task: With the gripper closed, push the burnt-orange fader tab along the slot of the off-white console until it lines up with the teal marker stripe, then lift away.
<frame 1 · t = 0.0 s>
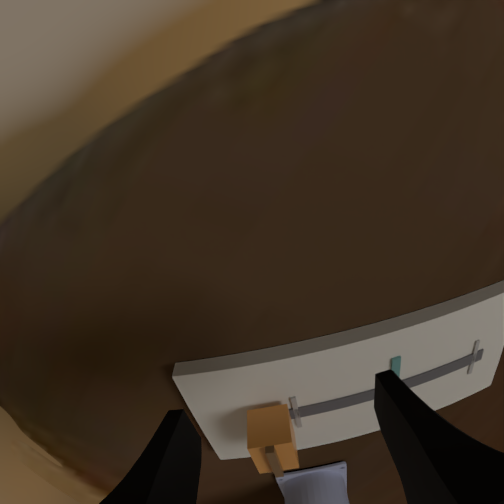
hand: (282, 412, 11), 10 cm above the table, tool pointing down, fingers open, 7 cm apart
fader tab: (273, 443, 20), point 4 cm above the table, slide at 0.0 cm
fader console: (365, 381, 24), on the table
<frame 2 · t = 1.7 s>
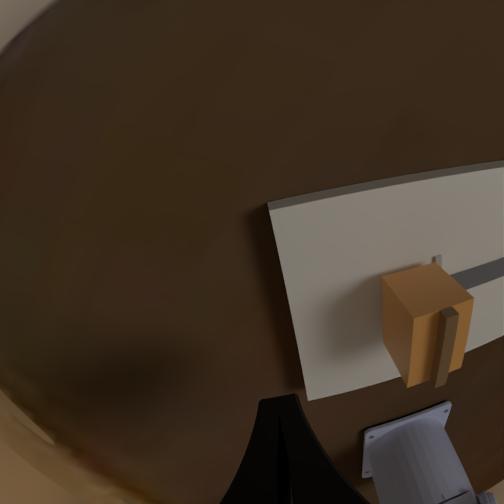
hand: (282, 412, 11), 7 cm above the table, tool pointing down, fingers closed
fader tab: (426, 326, 13), point 4 cm above the table, slide at 0.0 cm
fader console: (496, 253, 16), on the table
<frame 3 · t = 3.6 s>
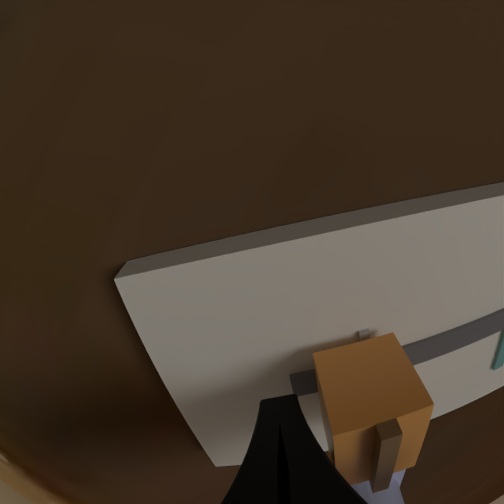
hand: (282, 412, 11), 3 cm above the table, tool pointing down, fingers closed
fader tab: (369, 420, 9), point 4 cm above the table, slide at 1.5 cm, touching gripper
fader console: (466, 309, 13), on the table
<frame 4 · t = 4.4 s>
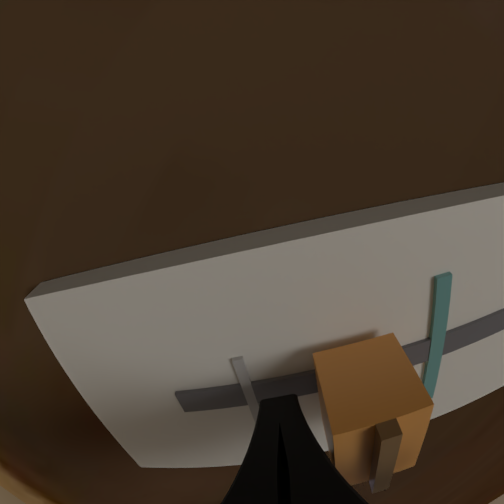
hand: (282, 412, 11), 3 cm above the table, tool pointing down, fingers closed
fader tab: (369, 421, 9), point 4 cm above the table, slide at 6.2 cm, touching gripper
fader console: (381, 337, 13), on the table
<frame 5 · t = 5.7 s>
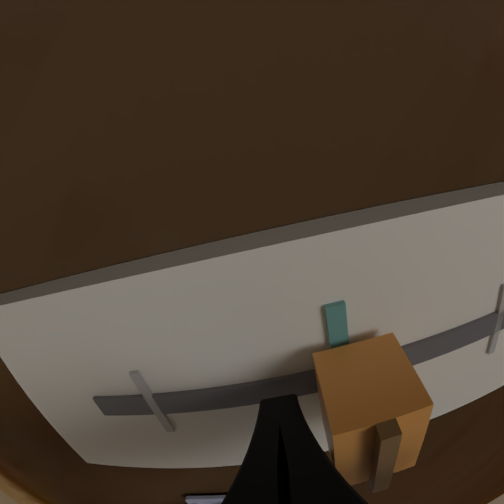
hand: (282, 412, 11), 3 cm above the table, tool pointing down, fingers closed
fader tab: (369, 420, 9), point 4 cm above the table, slide at 10.4 cm, touching gripper
fader console: (288, 360, 13), on the table
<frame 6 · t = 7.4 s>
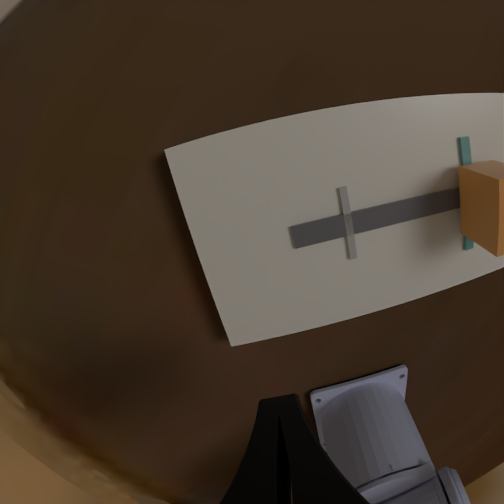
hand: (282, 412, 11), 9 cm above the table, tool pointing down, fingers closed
fader tab: (500, 206, 13), point 4 cm above the table, slide at 10.4 cm
fader console: (429, 194, 17), on the table
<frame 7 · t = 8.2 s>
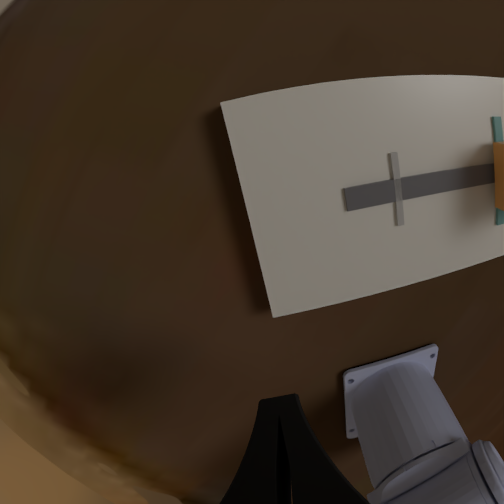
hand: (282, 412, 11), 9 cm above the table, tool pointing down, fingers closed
fader console: (464, 170, 17), on the table
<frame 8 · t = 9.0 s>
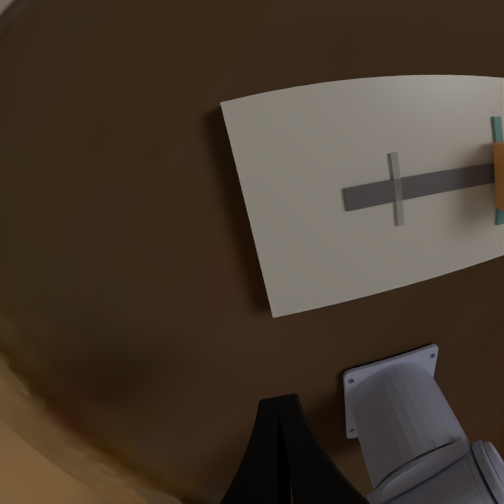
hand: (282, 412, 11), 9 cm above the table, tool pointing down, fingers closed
fader console: (464, 170, 17), on the table
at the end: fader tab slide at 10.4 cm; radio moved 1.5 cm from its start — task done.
